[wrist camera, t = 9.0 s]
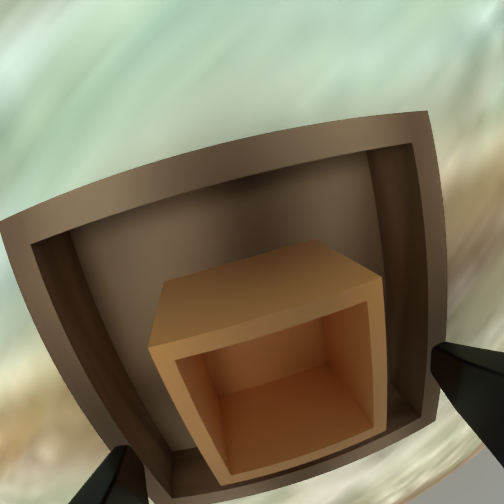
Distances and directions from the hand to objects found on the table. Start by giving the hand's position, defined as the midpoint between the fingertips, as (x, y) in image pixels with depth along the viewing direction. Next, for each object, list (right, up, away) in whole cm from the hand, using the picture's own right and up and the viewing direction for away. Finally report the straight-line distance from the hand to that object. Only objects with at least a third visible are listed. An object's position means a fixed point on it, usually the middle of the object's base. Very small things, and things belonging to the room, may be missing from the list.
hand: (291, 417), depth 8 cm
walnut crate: (-1, +2, +6) cm, 6 cm away
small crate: (-1, +1, +5) cm, 6 cm away
